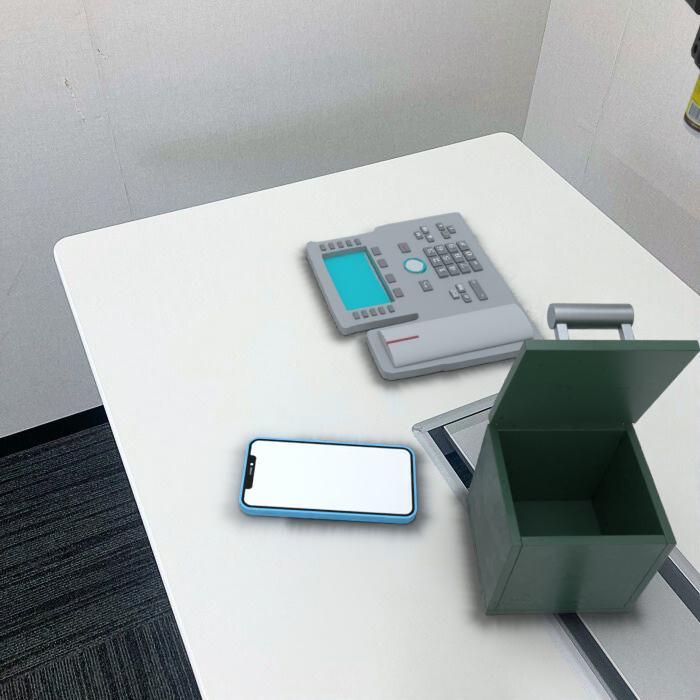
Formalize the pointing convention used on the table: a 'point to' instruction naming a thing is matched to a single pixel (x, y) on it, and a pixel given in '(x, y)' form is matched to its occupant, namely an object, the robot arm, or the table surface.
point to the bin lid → (589, 371)
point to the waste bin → (565, 519)
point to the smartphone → (329, 480)
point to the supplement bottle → (693, 112)
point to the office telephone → (421, 296)
